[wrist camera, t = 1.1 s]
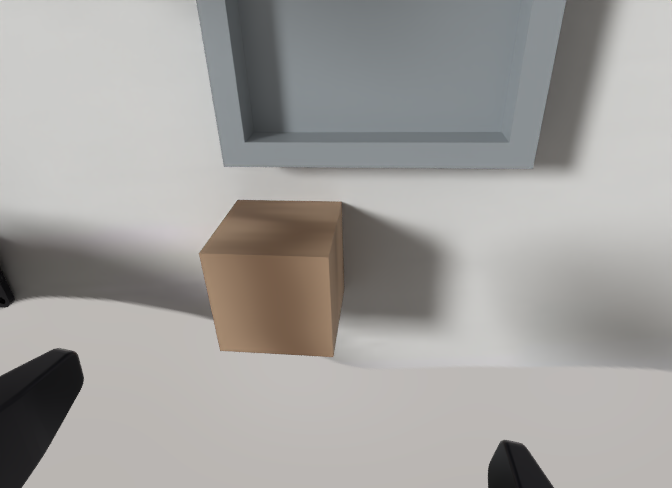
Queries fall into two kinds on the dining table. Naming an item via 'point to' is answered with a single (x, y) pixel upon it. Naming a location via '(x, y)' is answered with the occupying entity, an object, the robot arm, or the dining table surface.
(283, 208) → the walnut block
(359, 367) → the dining table surface
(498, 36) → the grey tray
